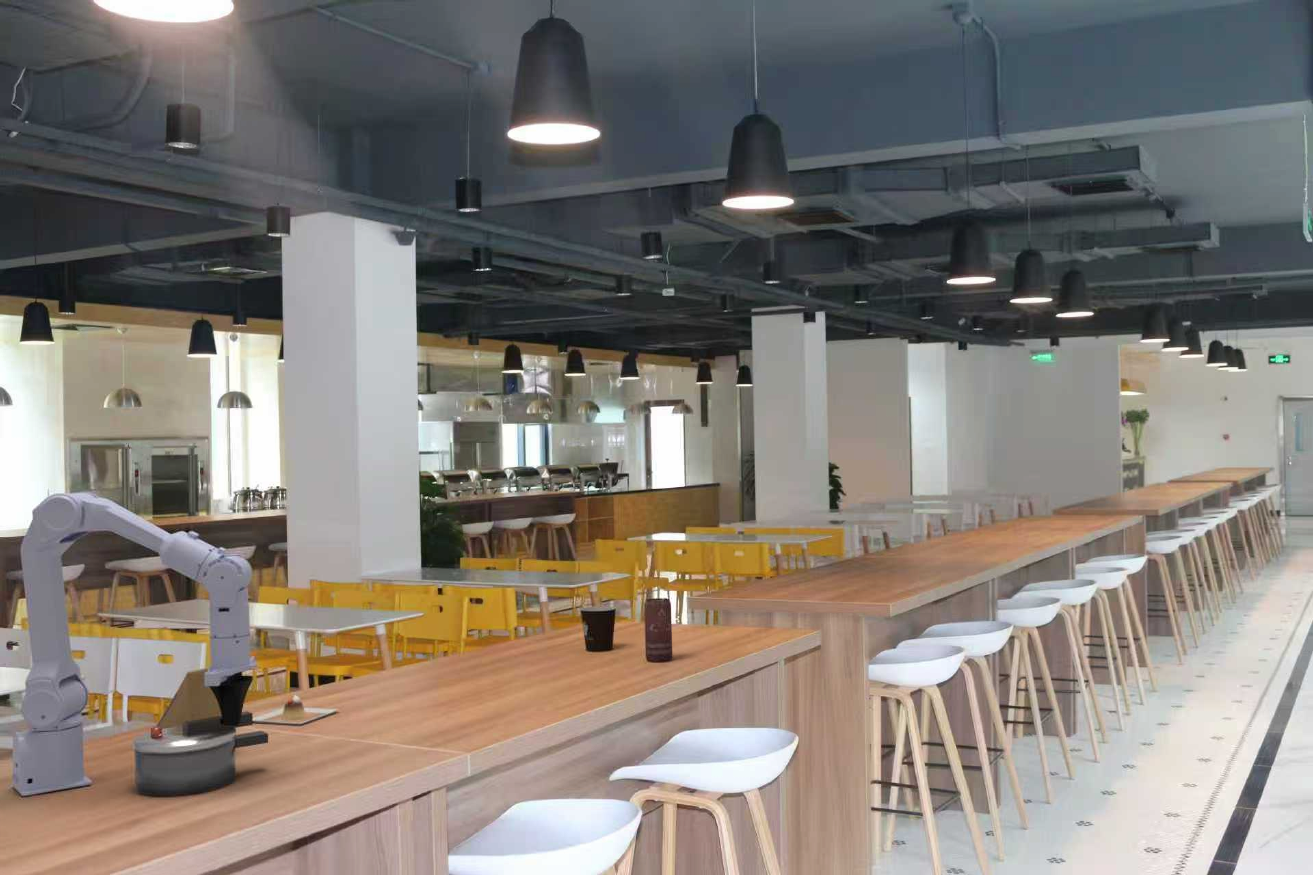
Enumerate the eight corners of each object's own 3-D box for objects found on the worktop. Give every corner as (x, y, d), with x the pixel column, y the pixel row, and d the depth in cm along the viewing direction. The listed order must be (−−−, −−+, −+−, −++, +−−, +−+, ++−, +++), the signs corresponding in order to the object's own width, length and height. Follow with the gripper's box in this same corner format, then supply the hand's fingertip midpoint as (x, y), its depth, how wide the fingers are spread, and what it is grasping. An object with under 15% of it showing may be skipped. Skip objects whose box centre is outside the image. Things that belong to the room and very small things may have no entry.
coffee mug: (616, 652, 290) (615, 610, 290) (580, 653, 290) (579, 611, 291) (618, 644, 302) (617, 604, 302) (583, 645, 302) (582, 605, 302)
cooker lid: (153, 758, 171) (152, 739, 171) (119, 742, 182) (118, 724, 182) (269, 737, 182) (269, 718, 182) (231, 723, 193) (231, 705, 193)
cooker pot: (150, 802, 171) (149, 759, 171) (124, 782, 182) (123, 742, 182) (282, 777, 183) (281, 737, 183) (250, 760, 194) (249, 722, 194)
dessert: (246, 725, 222) (245, 699, 222) (287, 712, 234) (286, 687, 234) (301, 729, 218) (300, 702, 218) (340, 715, 230) (339, 689, 230)
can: (678, 658, 278) (676, 598, 278) (663, 663, 273) (661, 601, 273) (655, 657, 281) (654, 596, 282) (640, 661, 276) (639, 600, 276)
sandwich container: (184, 742, 209) (182, 655, 209) (236, 754, 199) (234, 662, 200) (137, 753, 202) (135, 663, 202) (189, 765, 192) (187, 671, 193)
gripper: (237, 642, 176) (239, 735, 176) (273, 628, 191) (275, 714, 191) (189, 643, 177) (191, 736, 176) (229, 629, 191) (231, 715, 191)
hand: (232, 725), depth 184 cm, fingers closed, pressing on cooker lid
